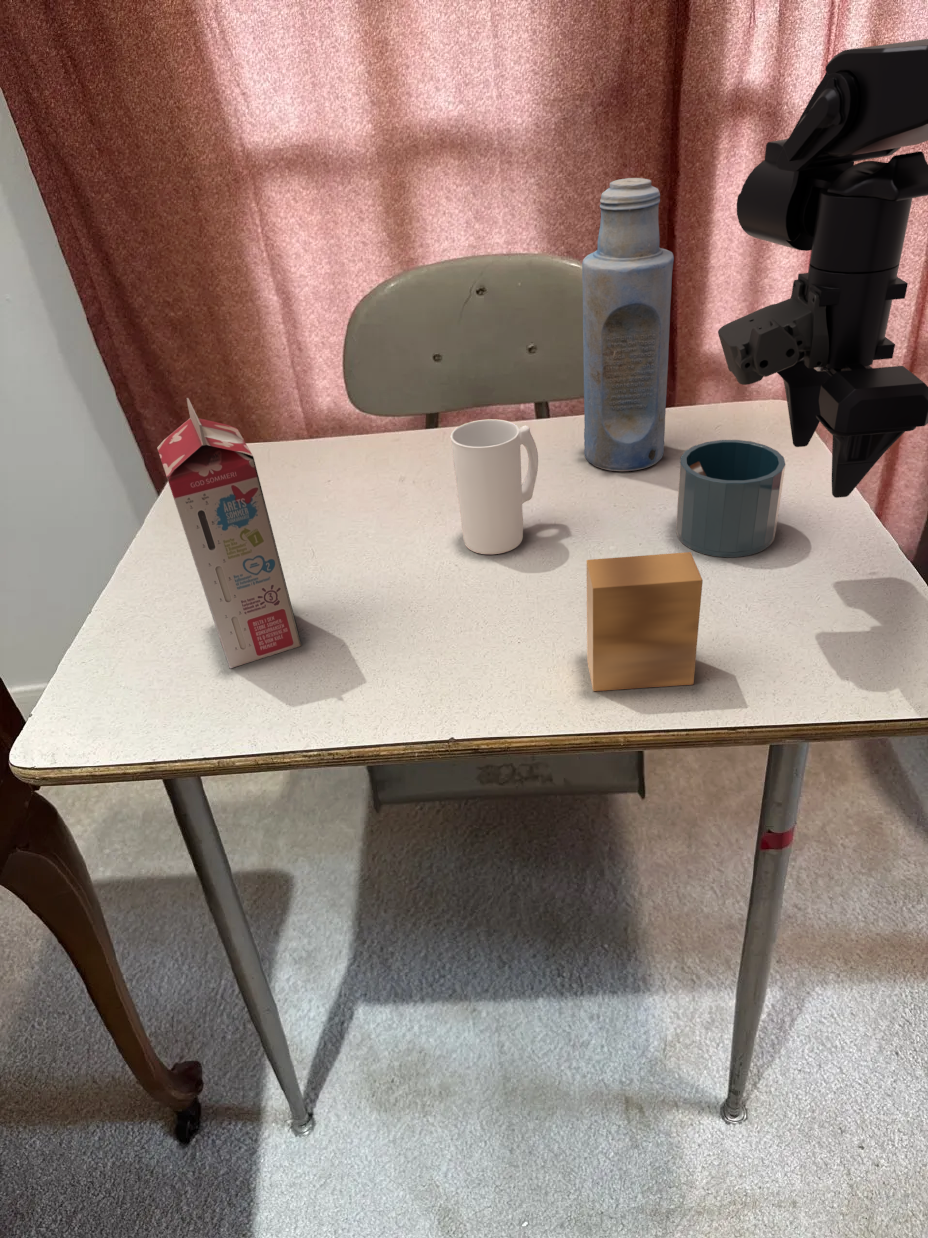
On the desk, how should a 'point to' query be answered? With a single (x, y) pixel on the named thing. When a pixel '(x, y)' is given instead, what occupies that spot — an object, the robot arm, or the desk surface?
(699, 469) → the brown disc handle
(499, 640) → the desk surface
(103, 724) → the desk surface
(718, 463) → the crock
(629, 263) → the bottle
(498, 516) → the mug
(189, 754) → the desk surface
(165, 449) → the juice carton
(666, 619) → the wooden block
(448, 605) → the desk surface
